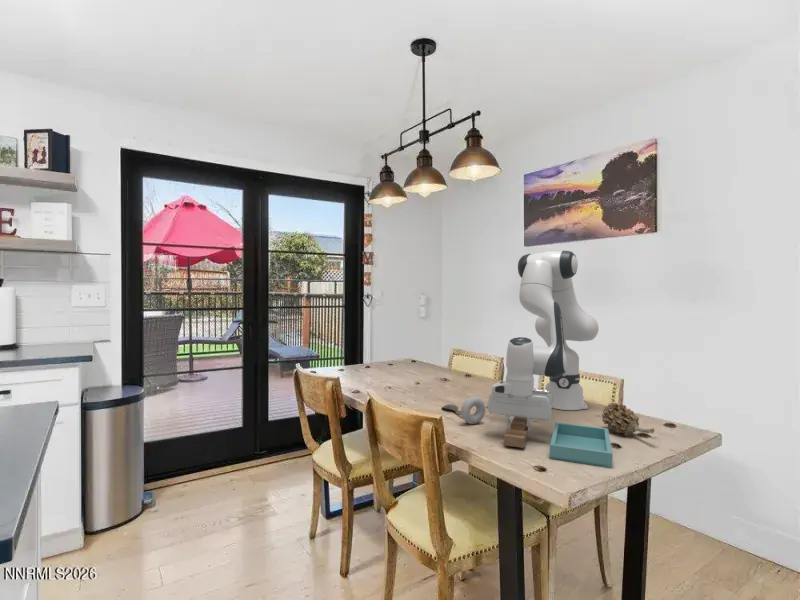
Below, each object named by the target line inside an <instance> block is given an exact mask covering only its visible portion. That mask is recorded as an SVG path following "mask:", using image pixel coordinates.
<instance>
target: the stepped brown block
mask: <svg viewBox="0 0 800 600" xmlns="http://www.w3.org/2000/svg"><path fill="white" fill-rule="evenodd" d="M513 417H514V418H513V419H512V421H511V429H508V428H507V430H506V431H505V434H504V438H503V440H504V442H503V445H504V446H509V447H515V448H521V449H525V447H526V444H527V441H528V431H525V424H528V423H529V418H526V417H517V416H513Z"/></svg>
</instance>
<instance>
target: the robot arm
mask: <svg viewBox="0 0 800 600" xmlns="http://www.w3.org/2000/svg"><path fill="white" fill-rule="evenodd" d="M578 267H579V265H578V259H577V255H576V254H575V253H574V252H573V251H572V250H571V251H570V250H562V251H561V250H559V251H558V250H547V251H543V252H537V253H535V252H534V253H526V254H523V255H522V256H521V257H520V258H519V260H518V263H517V271H518V272H517V273H518V276H519V277H520V278H521V280H520V286H519V302H520V304H521V305H522V307H523V309H525V310H527V312H529V313H531V314H533V315H535V316H538V317H537V318H536V320H535V323H534V327H535V331H536V333H537V335H538V336H539V337H540V338H542V339H543V341H544V342H545V344H546V345H547V346H537V345H533V340H532V339H530V338H528V337H514V338H511V339H509V341H508V344H507V349H506V359H505V361H506V362H505V363H506V364H505V366H506V370H507V371H506V374H505V380H503V381H499V382H498V381H497V382H495V383H494V384H493V385H491V393H490V395H489V396H488V402H487V411H488V412H489V414H493V415H501V416H502V415H503V416H504V420H505V421H506V424H507V430H508V429H511V423H512V421H511V420H510V417H515V416H517V417H526V418H528V423H527V424H525V431H527V432H530V431H531V426H532V424H533V422H534V420H536V419H537V420H543V421H549V420H550V419H551V418H552V413H553V412H552V411H553V410H552V409H556V410H561V411H580V410H588V409H589V406H588V405H587V403H586V402H585V401H584V399H585V398H584V388H583V387H582V385H580V382H581V381H580V380H581V375H580V373H579V371H580V369H579V368H580V356H579V354H578V353H577V351H575V349H572V348H570V347H569V346H568V344H567V341H572V342H587V341H588V342H589V341H593V340H594V339H596V337H597V335H598V333H599V323H598V322H597V319H595V317H593V316H591V315H590V314H588V312H586V311H585V310H584V309H582V308H583V307H581V305H580V304H579V302H578V300H577V298H576V293H575V289H574V283H573V279H572V278H573V277H574V276H575V275H577V271H578ZM534 376H545V377H547V378H548V377H549V382H548V383H547V384H545V389H543V390H542V389H537V388H536V389H535V388H534V385H535V384H534V382H535V379H534Z"/></svg>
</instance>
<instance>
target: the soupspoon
mask: <svg viewBox="0 0 800 600" xmlns="http://www.w3.org/2000/svg"><path fill="white" fill-rule="evenodd" d="M441 409H445V410H451V411H454V412H456V413H458V414H459V415H460V416H462V415H461V411H460V410H459V407H458V405H455V404H450V403H449V404H446V405H445V404H444V406H441Z"/></svg>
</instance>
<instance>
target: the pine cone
mask: <svg viewBox="0 0 800 600" xmlns="http://www.w3.org/2000/svg"><path fill="white" fill-rule="evenodd" d="M601 411H602V415H601V417H602V418H601V420H602V422H603V424H604V425H607V429H609V430H611V431H613V430H614V433H618V434H622V435H623V436H626V437H629V436H630V435H633V434H634V433H635V432H639V433H645V434H654V432H655V431H656V430H655V428H654V427H651V428H642V427H639V425H640V422H639V421H640V418H639V416H638V415H637V414H635V411H633V410H631V408H627V406H626V405H625V404H622V403H620V404H619V403H618V402H611V403H608V404H607V406H604V409H603V410H601Z"/></svg>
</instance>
